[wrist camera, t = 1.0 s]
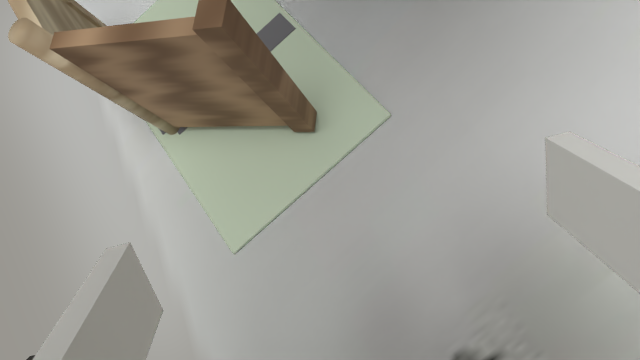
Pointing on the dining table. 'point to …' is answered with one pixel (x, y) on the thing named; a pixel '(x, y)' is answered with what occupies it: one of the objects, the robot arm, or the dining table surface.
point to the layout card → (269, 130)
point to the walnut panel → (193, 69)
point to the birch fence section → (36, 36)
